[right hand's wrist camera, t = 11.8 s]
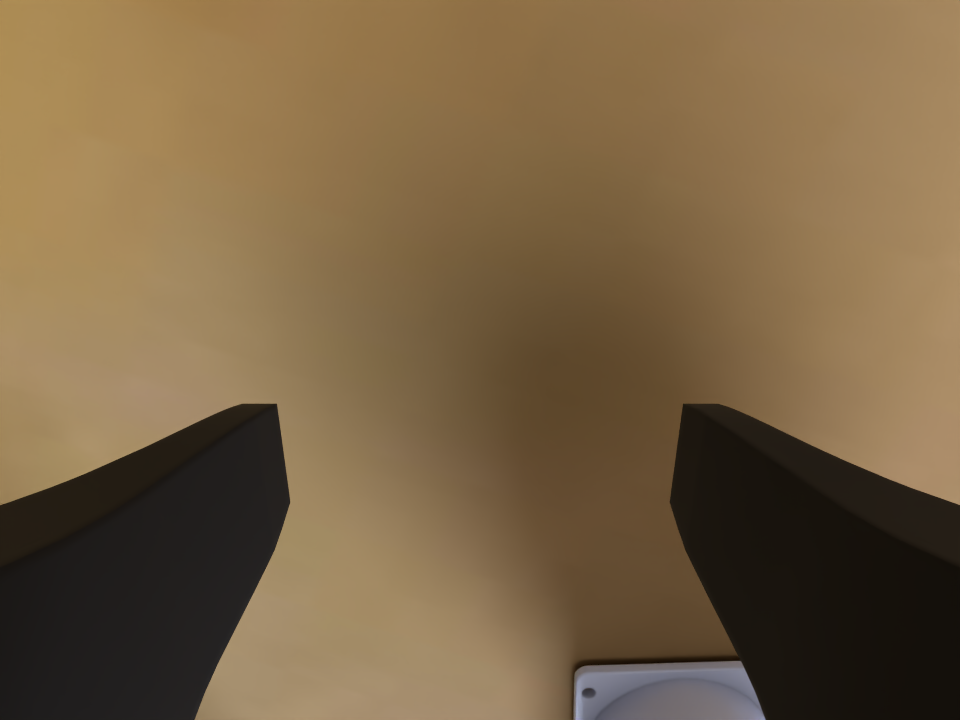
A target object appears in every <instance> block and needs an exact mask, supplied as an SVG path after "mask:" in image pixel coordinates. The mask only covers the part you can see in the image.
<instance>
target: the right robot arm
mask: <svg viewBox="0 0 960 720" xmlns="http://www.w3.org/2000/svg"><path fill="white" fill-rule="evenodd" d="M289 504H290V497H289V489H288V482H287V475H286V467H285V460H284V453H283V445H282V438H281V431H280V423H279V416H278V409H277V404H240V405H237V406H234V407H231V408H228V409H226V410H223V411H221V412H219V413H216V414H214V415H212V416H210V417H208V418H205V419H203V420H201V421H199V422H197V423H195V424H193V425H191V426H189V427H186V428H184V429H182V430H180V431H178V432H176V433H174V434H172V435H170V436H168V437H166V438H164V439H161V440H159V441H157V442H155V443H153V444H151V445H149V446H147V447H145V448H142V449H140V450H138V451H136V452H133V453H131V454H129V455H127V456H124V457H122V458H120V459H118V460H115V461H113V462H111V463H109V464H106V465H104V466H102V467H100V468H97V469H95V470H93V471H91V472H88V473H86V474H84V475H81V476H79V477H76V478H74V479H71V480H69V481H66V482H64V483H61V484H59V485H56V486H53V487H51V488H48V489H45V490H43V491H40V492H37V493H34V494H31V495H29V496H26V497H23V498H20V499H17V500H15V501H12V502H9V503H6V504H3V505H0V720H194V719H195V717H196V714H197V712H198V709H199V706H200V704H201V701H202V698H203V696H204V693H205V691H206V689H207V686H208V684H209V682H210V680H211V678H212V675H213V673H214V671H215V669H216V666H217V664H218V662H219V660H220V658H221V656H222V654H223V652H224V650H225V648H226V646H227V644H228V642H229V640H230V638H231V636H232V634H233V632H234V631H235V629H236V627H237V625H238V623H239V621H240V619H241V617H242V615H243V613H244V611H245V609H246V607H247V605H248V603H249V601H250V599H251V597H252V595H253V593H254V591H255V589H256V587H257V585H258V583H259V581H260V579H261V577H262V575H263V573H264V571H265V569H266V567H267V565H268V563H269V561H270V558H271V556H272V554H273V552H274V550H275V547H276V544H277V541H278V539H279V536H280V533H281V530H282V527H283V524H284V520H285V517H286V514H287V511H288V508H289ZM670 504H671V508H672V511H673V514H674V517H675V520H676V524H677V527H678V530H679V533H680V536H681V539H682V541H683V544H684V547H685V550H686V552H687V554H688V556H689V558H690V561H691V563H692V565H693V567H694V569H695V571H696V573H697V575H698V577H699V579H700V581H701V583H702V585H703V587H704V589H705V591H706V593H707V595H708V597H709V599H710V601H711V603H712V605H713V607H714V609H715V611H716V613H717V615H718V617H719V619H720V621H721V623H722V625H723V627H724V629H725V631H726V632H727V634H728V636H729V638H730V640H731V642H732V644H733V646H734V648H735V650H736V652H737V654H738V656H739V658H740V660H741V661H718V662H685V663H653V664H621V665H589V666H583V667H581V668H579V669H578V670H577V671H576V672H575V675H574V716H573V720H960V505H958V504H955V503H952V502H949V501H946V500H944V499H941V498H938V497H935V496H932V495H929V494H927V493H924V492H921V491H918V490H915V489H912V488H910V487H907V486H905V485H902V484H899V483H897V482H894V481H892V480H889V479H887V478H884V477H882V476H879V475H877V474H875V473H872V472H870V471H868V470H865V469H863V468H861V467H858V466H856V465H854V464H851V463H849V462H846V461H844V460H842V459H840V458H838V457H835V456H833V455H831V454H829V453H827V452H824V451H822V450H820V449H818V448H816V447H814V446H812V445H809V444H807V443H805V442H803V441H801V440H799V439H797V438H795V437H793V436H791V435H788V434H786V433H784V432H782V431H780V430H778V429H776V428H774V427H772V426H770V425H768V424H766V423H763V422H761V421H759V420H757V419H755V418H753V417H751V416H748V415H746V414H744V413H742V412H739V411H737V410H735V409H732V408H729V407H727V406H723V405H720V404H683V409H682V416H681V423H680V431H679V438H678V445H677V453H676V460H675V467H674V475H673V482H672V489H671V497H670ZM587 688H590V689H587Z"/></svg>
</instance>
